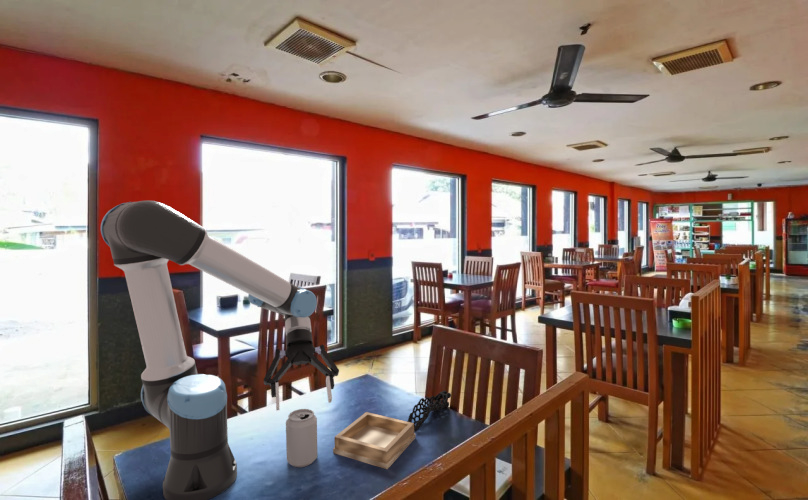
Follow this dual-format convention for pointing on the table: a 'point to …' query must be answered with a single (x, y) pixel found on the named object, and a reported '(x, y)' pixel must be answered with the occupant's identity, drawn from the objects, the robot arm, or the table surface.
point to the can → (301, 438)
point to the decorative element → (427, 409)
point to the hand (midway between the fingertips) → (304, 404)
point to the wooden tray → (375, 439)
